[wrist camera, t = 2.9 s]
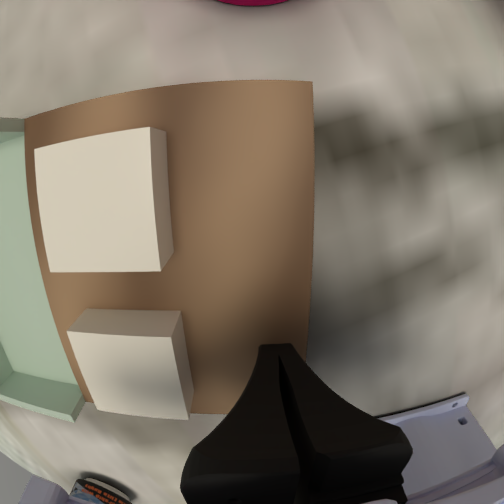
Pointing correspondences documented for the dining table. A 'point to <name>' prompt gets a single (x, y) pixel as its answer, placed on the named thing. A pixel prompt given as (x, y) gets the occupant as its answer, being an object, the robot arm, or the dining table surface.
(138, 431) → the dining table surface
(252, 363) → the board
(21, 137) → the tray
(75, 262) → the tile
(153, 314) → the tile
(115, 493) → the beverage can
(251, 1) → the pepper mill
